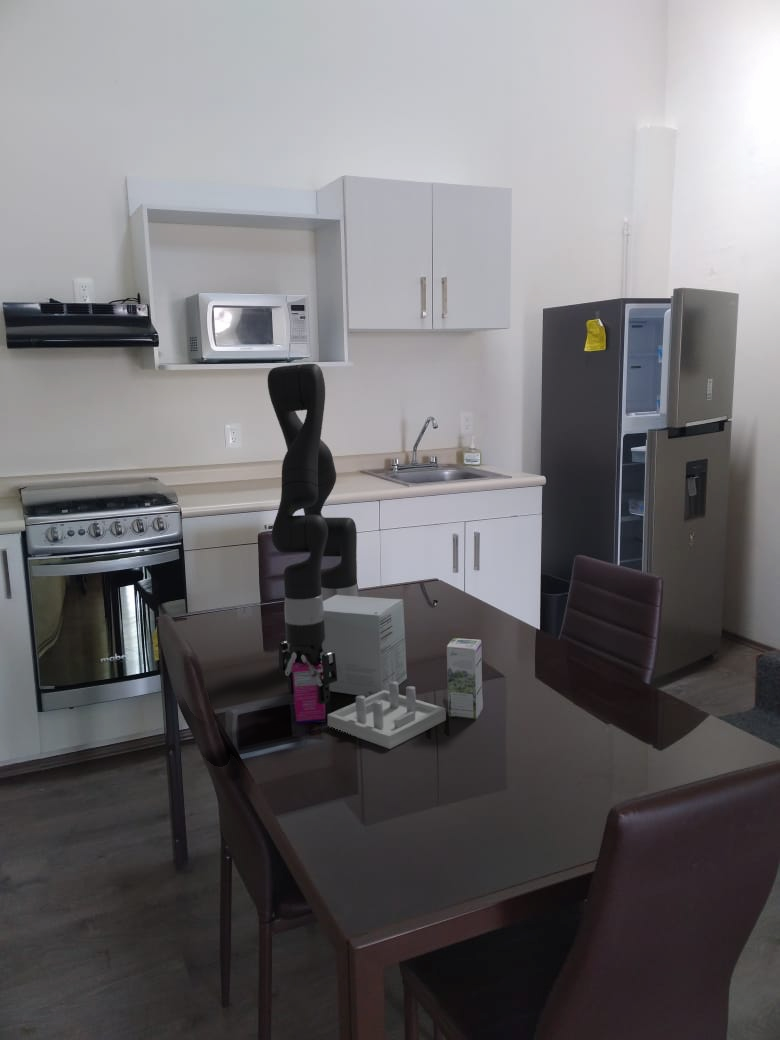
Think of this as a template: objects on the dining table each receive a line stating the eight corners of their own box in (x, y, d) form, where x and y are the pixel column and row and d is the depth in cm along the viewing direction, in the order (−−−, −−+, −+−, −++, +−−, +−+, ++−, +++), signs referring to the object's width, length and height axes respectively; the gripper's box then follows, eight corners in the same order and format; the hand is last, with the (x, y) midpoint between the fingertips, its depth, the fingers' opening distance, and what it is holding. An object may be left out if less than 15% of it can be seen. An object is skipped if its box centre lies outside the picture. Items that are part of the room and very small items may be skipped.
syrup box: (483, 708, 165) (482, 638, 163) (476, 720, 160) (475, 647, 157) (455, 706, 167) (453, 636, 165) (447, 717, 161) (445, 645, 159)
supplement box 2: (408, 678, 184) (405, 598, 181) (382, 700, 172) (379, 615, 169) (339, 669, 191) (335, 592, 188) (309, 689, 179) (305, 608, 176)
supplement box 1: (295, 712, 167) (292, 657, 165) (325, 710, 167) (322, 655, 165) (295, 724, 161) (291, 667, 159) (325, 722, 161) (322, 665, 160)
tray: (384, 701, 171) (383, 672, 170) (445, 720, 160) (445, 689, 159) (327, 726, 159) (326, 695, 158) (389, 748, 149) (388, 716, 148)
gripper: (344, 619, 159) (348, 700, 161) (294, 607, 168) (299, 684, 171) (315, 628, 153) (319, 712, 156) (265, 616, 163) (270, 695, 165)
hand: (308, 698), depth 163 cm, fingers open, 8 cm apart
